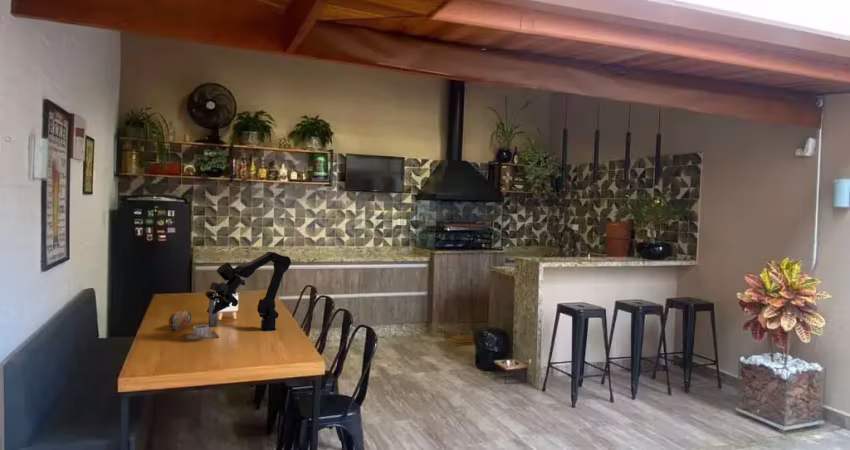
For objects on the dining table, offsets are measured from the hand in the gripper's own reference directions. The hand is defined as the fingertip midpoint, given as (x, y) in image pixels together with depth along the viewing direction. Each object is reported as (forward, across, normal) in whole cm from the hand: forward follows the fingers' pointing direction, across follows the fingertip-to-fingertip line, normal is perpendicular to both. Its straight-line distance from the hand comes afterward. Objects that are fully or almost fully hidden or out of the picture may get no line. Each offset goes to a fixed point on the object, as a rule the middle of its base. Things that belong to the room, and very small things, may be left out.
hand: (210, 312), depth 257 cm
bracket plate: (+7, -12, +12) cm, 18 cm away
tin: (+5, -35, +15) cm, 39 cm away
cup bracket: (+7, -12, +12) cm, 18 cm away
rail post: (+4, 0, +6) cm, 7 cm away
